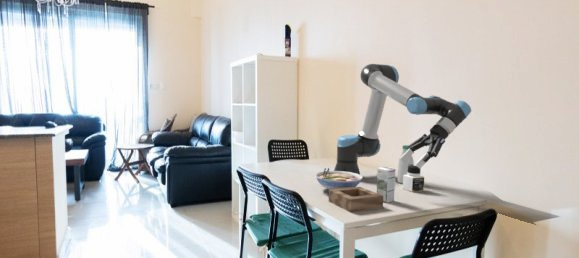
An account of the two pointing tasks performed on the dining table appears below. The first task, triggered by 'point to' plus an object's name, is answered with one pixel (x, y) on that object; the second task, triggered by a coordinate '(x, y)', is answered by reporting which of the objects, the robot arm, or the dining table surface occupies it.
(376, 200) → the walnut holder
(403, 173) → the milk bottle
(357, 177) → the ramen bowl
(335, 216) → the dining table surface
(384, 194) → the syrup box
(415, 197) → the dining table surface
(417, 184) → the medicine bottle
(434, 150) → the robot arm
